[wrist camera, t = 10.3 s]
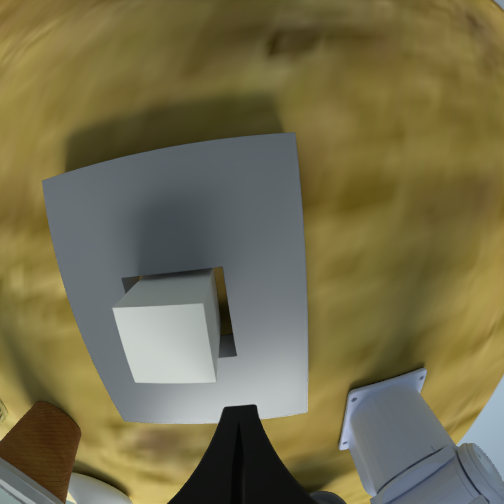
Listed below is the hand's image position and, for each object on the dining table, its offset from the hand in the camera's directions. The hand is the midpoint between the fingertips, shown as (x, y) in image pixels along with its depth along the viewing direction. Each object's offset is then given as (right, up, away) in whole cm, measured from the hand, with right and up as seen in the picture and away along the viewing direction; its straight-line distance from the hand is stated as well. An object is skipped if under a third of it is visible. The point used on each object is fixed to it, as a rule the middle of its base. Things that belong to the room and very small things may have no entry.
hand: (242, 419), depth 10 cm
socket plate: (-4, +4, +7) cm, 9 cm away
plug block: (-4, +4, +7) cm, 9 cm away
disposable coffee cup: (-21, -11, +10) cm, 26 cm away
